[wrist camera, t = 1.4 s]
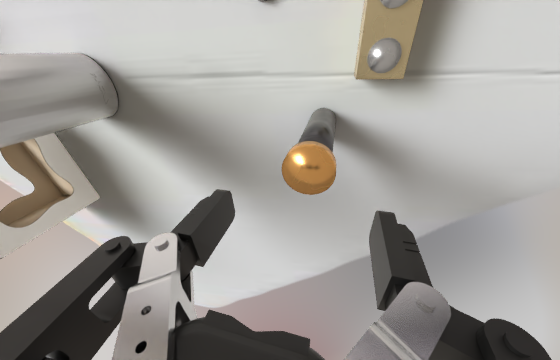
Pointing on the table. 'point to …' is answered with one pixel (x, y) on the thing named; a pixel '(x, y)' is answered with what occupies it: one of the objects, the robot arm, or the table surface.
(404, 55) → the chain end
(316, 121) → the pin
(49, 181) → the white open frame
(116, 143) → the table surface
